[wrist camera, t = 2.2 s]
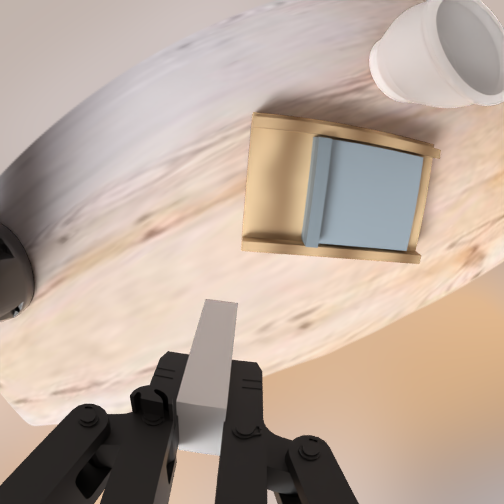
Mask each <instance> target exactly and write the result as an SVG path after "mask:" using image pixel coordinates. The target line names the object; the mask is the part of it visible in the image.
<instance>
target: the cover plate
mask: <svg viewBox="0 0 504 504" xmlns="http://www.w3.org/2000/svg"><path fill="white" fill-rule="evenodd" d="M422 165H423V157H419V156H415V155H410V154H406V153H402V152H397V151H393V150H388V149H383V148H378V147H373V146H368V145H362V144H357V143H351V142H345V141H339V140H333V139H330V138H324V137H313V143H312V153H311V162H310V171H309V180H308V188H307V196H306V204H305V212H304V220H303V227H302V235H301V239H302V241H303V243H304V245H305V247H313V248H318V244H319V243H321V244H333V245H345V246H357V247H368V248H380V249H391V250H402V251H407V247H408V242H409V238H410V233H411V229H412V224H413V219H414V214H415V208H416V203H417V197H418V191H419V185H420V179H421V172H422Z"/></svg>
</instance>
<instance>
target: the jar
mask: <svg viewBox="0 0 504 504" xmlns="http://www.w3.org/2000/svg"><path fill="white" fill-rule="evenodd" d="M369 67H370V72H371V75H372V77H373V79H374V81H375V83H376V85H377V86H378V87H379V89H380V90H381V91H382V92H383V93H384V94H385V95H387V96H388V97H389V98H391V99H393V100H395V101H398V102H402V103H412V102H413V103H416V104H421V105H428V106H432V107H438V108H459V107H465V106H469V105H472V104H477V105H481V106H493V105H497V104H500V103H502V102H503V101H504V28H503V26H502V24H501V23H500V21H499V20H498V18H497V17H496V16H495V15H494V13H493V12H492V11H491V10H490V9H489V8H488V7H487V6H486V5H485V4H484V3H483V2H482V1H481V0H427V1H426V2H423V3H420V4H417V5H415V6H413V7H411V8H409V9H408V10H406V11H405V12H403V13H402V14H401V15H400V16H399V17H398V18H397V19H396V20H395V21H394V22H393V23H392V24H391V26H390V27H389V29H388V30H387V31H386V32H385V34H384V35H383V37H382V39H380V40H379V41H378V42H376V43H375V45H374V46H373V48H372V50H371V52H370V56H369Z"/></svg>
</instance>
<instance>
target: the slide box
mask: <svg viewBox="0 0 504 504" xmlns="http://www.w3.org/2000/svg"><path fill="white" fill-rule="evenodd" d="M313 137H324V138H330V139H333V140H339V141H345V142H351V143H357V144H362V145H368V146H373V147H378V148H383V149H388V150H393V151H397V152H402V153H406V154H410V155H415V156H419V157H423V165H422V172H421V179H420V185H419V191H418V197H417V203H416V208H415V214H414V219H413V224H412V229H411V233H410V238H409V242H408V247H407V251H402V250H391V249H380V248H368V247H357V246H345V245H333V244H321V243H319V244H318V248H313V247H305V245H304V243H303V241H302V239H301V235H302V227H303V220H304V212H305V204H306V196H307V188H308V180H309V171H310V162H311V153H312V143H313ZM440 152H441V150H439V149H436V148H434V144H430V143H426V142H423V141H419V140H415V139H411V138H407V137H403V136H399V135H395V134H390V133H386V132H382V131H377V130H372V129H367V128H362V127H357V126H352V125H347V124H341V123H335V122H329V121H323V120H316V119H309V118H302V117H294V116H286V115H277V114H268V113H257V112H253V114H252V123H251V135H250V146H249V157H248V169H247V181H246V193H245V205H244V217H243V229H242V244H241V251H250V252H264V253H277V254H291V255H305V256H318V257H332V258H345V259H359V260H373V261H386V262H400V263H413V264H419V263H420V259H421V255H420V254H418V253H417V252H416V251H415V250H416V246H417V242H418V237H419V233H420V228H421V224H422V219H423V214H424V208H425V203H426V197H427V192H428V185H429V179H430V172H431V165H432V158H438V159H440Z"/></svg>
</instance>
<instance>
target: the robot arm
mask: <svg viewBox="0 0 504 504" xmlns="http://www.w3.org/2000/svg"><path fill="white" fill-rule="evenodd" d="M33 291H34V279H33V273H32V268H31V265H30V262H29V259H28V257H27V254H26V252H25V250H24V248H23V246H22V245H21V243H20V242H19V240H18V239H17V237H16V236H15V235H14V234H13V233H12V232H11V231H10V230H9V229H8V228H7V227H5V226H4V225H2V224H0V322H2V321H5V320H8V319H11V318H14V317H16V316H18V315H19V314H20V313H21V312H22V311H23V310H24V309H26V308H27V307H28V305H29V304H30V302H31V300H32V297H33ZM237 307H238V303H233V302H225V301H218V300H210V299H206V300H205V303H204V307H203V310H202V313H201V317H200V320H199V323H198V327H197V330H196V334H195V337H194V340H193V344H192V347H191V351H190V354H189V355H188V354H181V353H175V352H169V351H168V352H167V353H166V354H165V355H163V356H162V357H161V358H160V360H159V362H158V365H157V368H156V370H155V373H154V376H153V378H152V380H151V383H150V385H147V386H142V387H139V388H137V389H136V390H134V391H133V392H132V394H131V395H130V400H131V405H132V411H133V412H130V413H127V414H107V413H106V411H105V410H104V409H103V408H101V407H100V406H97V405H94V404H83V405H79V406H77V407H76V408H74V409H73V410H72V411H71V412H70V413H69V414H68V415H67V416H66V417H65V418H64V419H63V420H62V421H61V422H60V423H59V424H58V425H57V427H56V428H55V429H54V430H53V431H52V432H51V433H50V434H49V435H48V436H47V437H46V438H45V439H44V440H43V441H42V442H41V443H40V444H39V445H38V446H37V447H36V449H34V450H33V452H32V453H31V454H30V455H29V456H28V457H27V458H26V459H25V460H24V461H23V462H22V463H21V464H20V465H19V466H18V467H17V468H16V470H15V471H14V472H13V473H12V474H11V475H10V476H9V477H8V478H7V479H6V480H5V481H4V482H3V484H2V485H1V486H0V504H94V503H95V502H96V500H97V499H98V497H99V496H100V495H101V493H102V492H103V491H104V493H103V496H102V499H101V502H100V504H168V502H169V497H170V492H171V487H172V482H173V477H174V472H175V468H176V463H177V461H176V453H177V448H178V447H179V450H184V451H190V452H197V453H204V454H211V455H219V456H220V459H219V468H218V476H217V486H216V496H215V504H267V489H268V490H271V491H274V494H275V497H276V500H277V503H278V504H359V503H358V502H357V500H356V498H355V496H354V494H353V492H352V490H351V488H350V486H349V484H348V482H347V480H346V479H345V476H344V474H343V472H342V471H341V469H340V467H339V465H338V463H337V461H336V459H335V457H334V455H333V453H332V451H331V449H330V447H329V446H328V445H327V443H326V442H325V441H324V440H322V439H320V438H319V437H315V436H311V435H304V436H300V437H297V438H295V439H294V440H293V441H292V440H289V439H286V438H282V437H280V436H277V435H275V434H273V433H272V432H271V431H269V430H268V428H267V427H266V426H265V424H264V421H263V391H262V370H261V369H260V367H259V365H258V364H257V363H256V362H247V361H238V360H232V353H233V344H234V334H235V325H236V316H237ZM104 489H105V490H104Z"/></svg>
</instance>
